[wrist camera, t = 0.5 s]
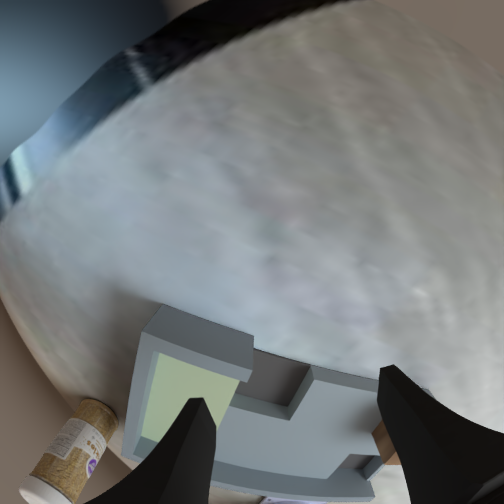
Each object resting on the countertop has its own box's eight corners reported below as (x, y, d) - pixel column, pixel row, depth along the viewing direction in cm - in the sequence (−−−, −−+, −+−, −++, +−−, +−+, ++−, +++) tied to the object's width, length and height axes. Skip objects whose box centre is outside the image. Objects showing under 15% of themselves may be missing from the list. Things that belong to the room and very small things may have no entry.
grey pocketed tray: (361, 472, 25) (369, 501, 21) (136, 424, 24) (121, 455, 19) (434, 381, 22) (455, 408, 18) (163, 303, 21) (141, 331, 17)
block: (403, 435, 21) (417, 464, 17) (371, 433, 21) (383, 464, 17) (427, 404, 21) (445, 432, 17) (395, 400, 20) (412, 431, 16)
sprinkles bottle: (125, 432, 24) (77, 531, 11) (89, 425, 24) (36, 512, 11) (111, 399, 23) (47, 503, 10) (74, 393, 23) (7, 482, 10)
